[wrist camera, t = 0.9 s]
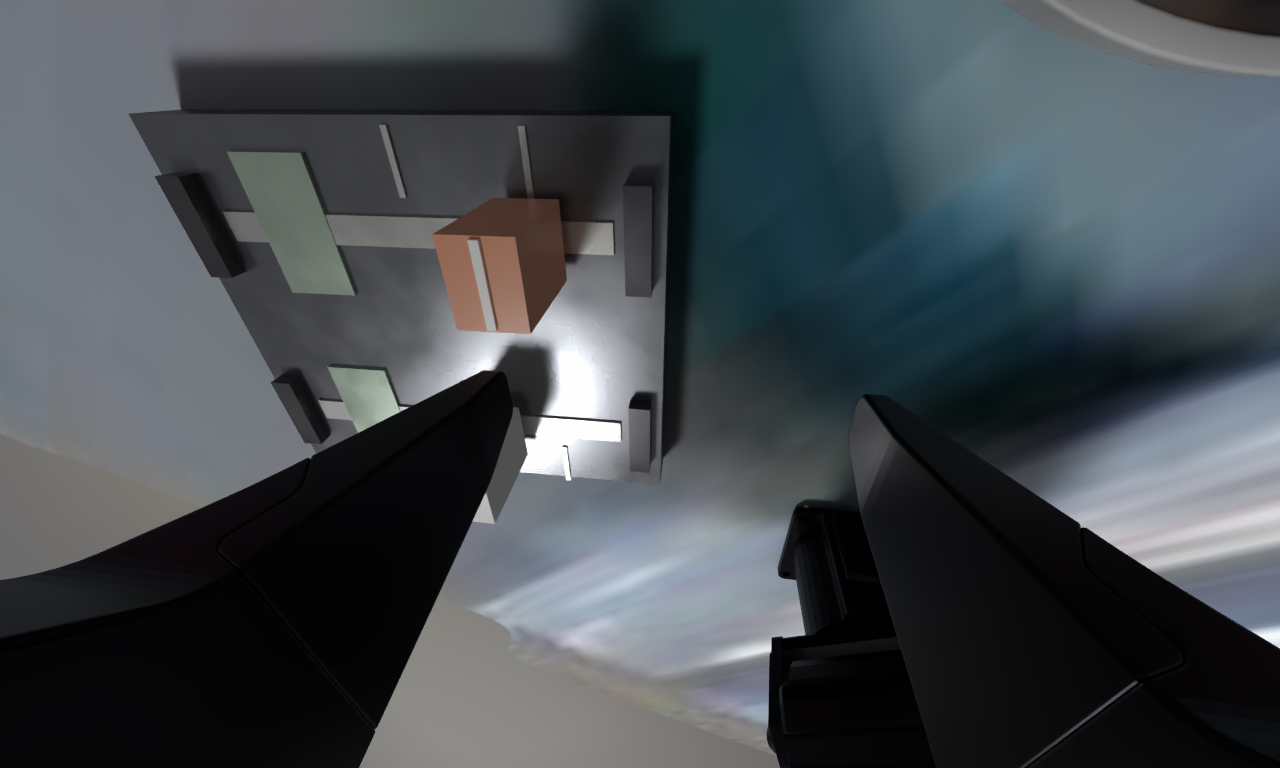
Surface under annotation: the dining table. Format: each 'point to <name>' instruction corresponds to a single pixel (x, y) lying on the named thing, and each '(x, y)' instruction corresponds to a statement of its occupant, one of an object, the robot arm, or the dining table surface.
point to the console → (436, 263)
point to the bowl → (1170, 31)
